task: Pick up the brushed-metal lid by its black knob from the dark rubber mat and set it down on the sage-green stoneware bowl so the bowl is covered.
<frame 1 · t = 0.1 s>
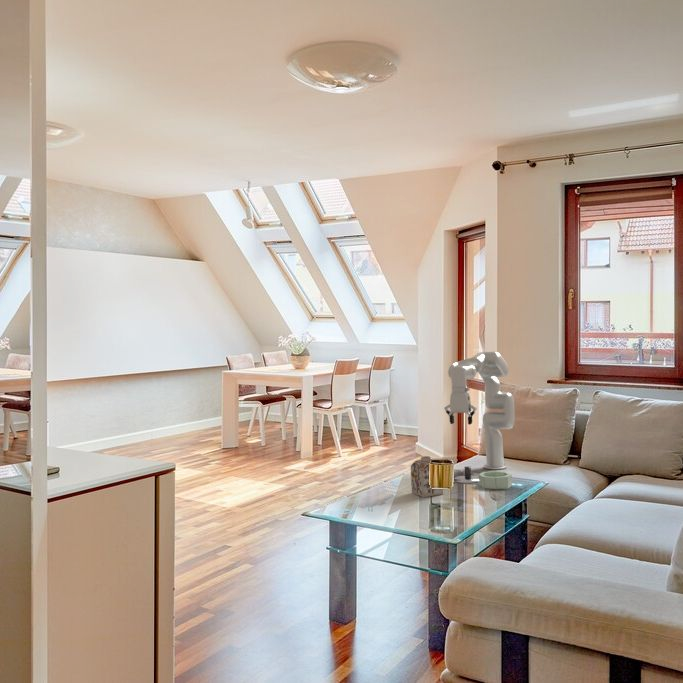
hand: (461, 423, 345), 31 cm above the table, fingers open, 9 cm apart
bowl: (495, 486, 338), on the table
mat: (468, 481, 352), on the table
decorative jar: (427, 494, 330), on the table
lid: (468, 480, 352), point 1 cm above the table, touching mat
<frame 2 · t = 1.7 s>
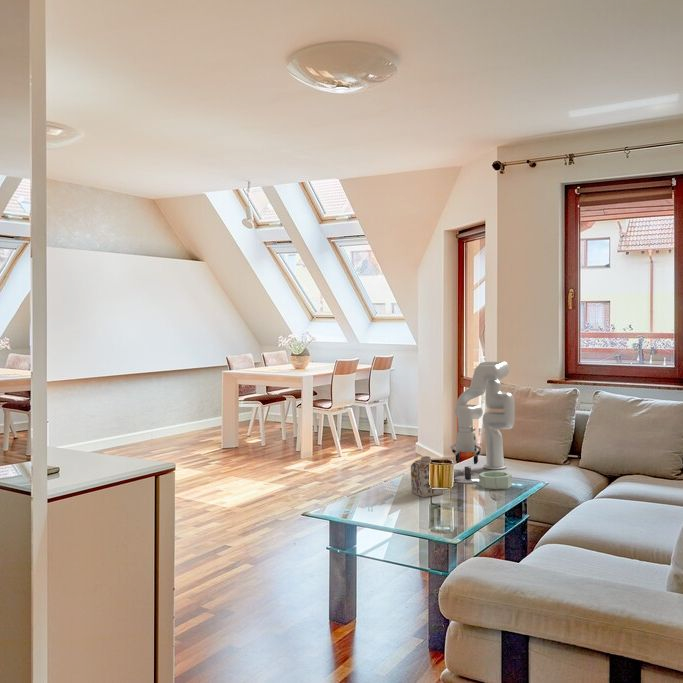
hand: (466, 463, 352), 10 cm above the table, fingers open, 9 cm apart
nothing on the table moved.
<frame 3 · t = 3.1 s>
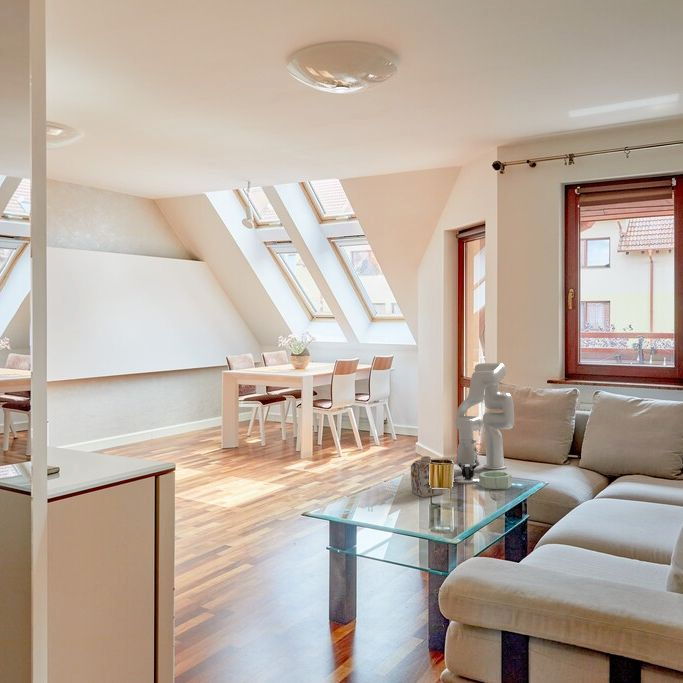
hand: (468, 476, 352), 2 cm above the table, fingers closed on lid, 3 cm apart
lid: (468, 480, 352), point 1 cm above the table, touching gripper, mat
everything else where it was.
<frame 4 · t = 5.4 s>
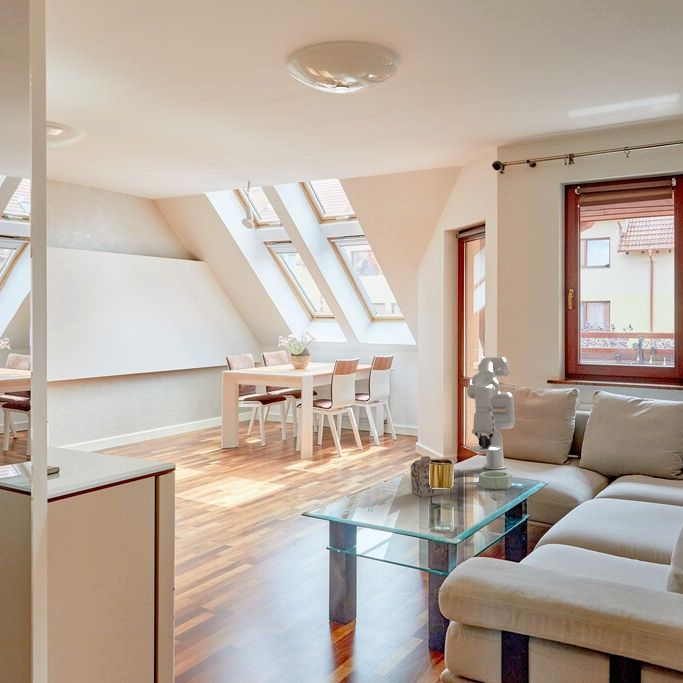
hand: (484, 446, 342), 20 cm above the table, fingers closed on lid, 3 cm apart
lid: (484, 449, 342), point 18 cm above the table, touching gripper
everything else where it was.
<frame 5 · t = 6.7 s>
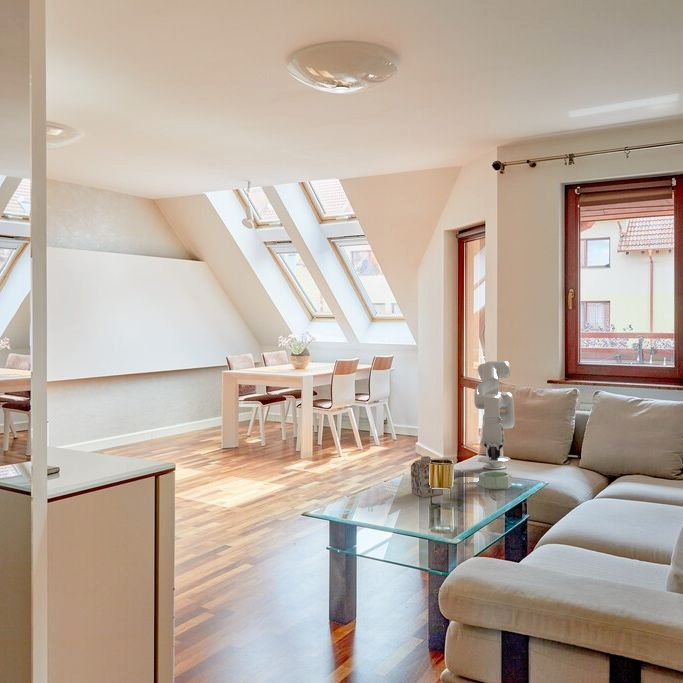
hand: (494, 457, 338), 15 cm above the table, fingers closed on lid, 3 cm apart
lid: (494, 460, 337), point 13 cm above the table, touching gripper
everything else where it was.
when the fingers open (9 cm above the table, at t = 7.9 s): lid drops 2 cm, resting on bowl.
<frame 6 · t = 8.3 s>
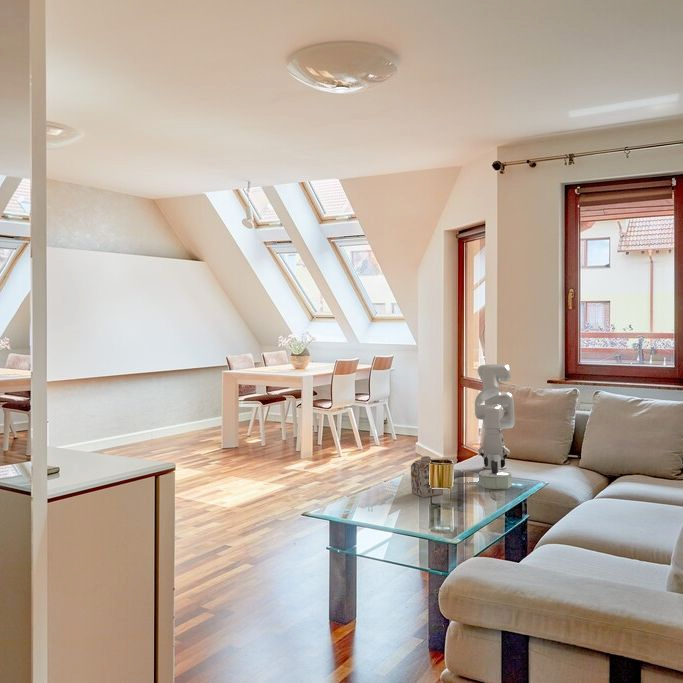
hand: (494, 466, 338), 10 cm above the table, fingers open, 7 cm apart
lid: (494, 474, 338), point 6 cm above the table, touching bowl
everything else where it was.
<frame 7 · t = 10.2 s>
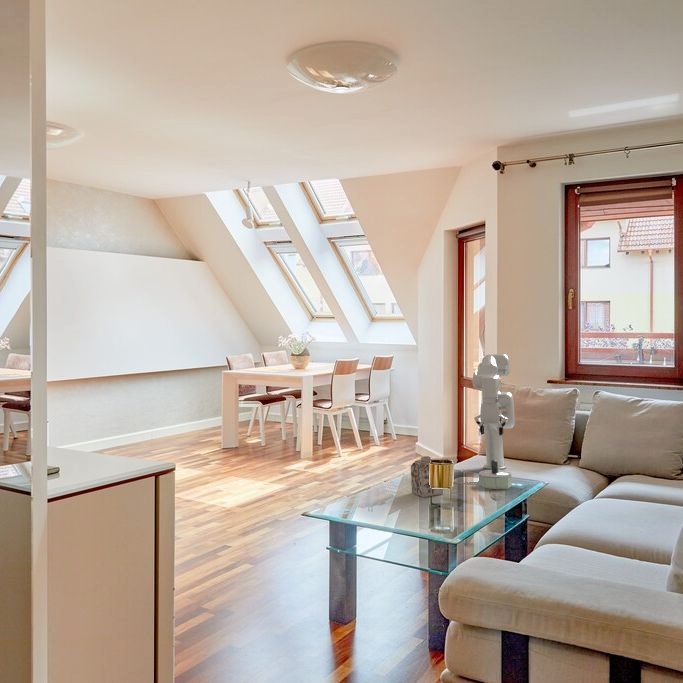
hand: (491, 434, 342), 25 cm above the table, fingers open, 9 cm apart
nothing on the table moved.
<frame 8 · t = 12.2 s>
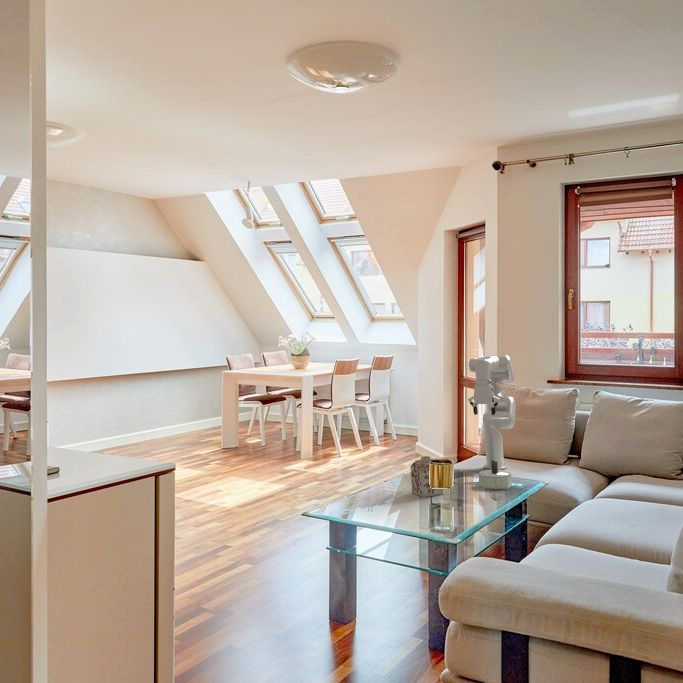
hand: (484, 414, 359), 33 cm above the table, fingers open, 9 cm apart
nothing on the table moved.
at the end: lid 0.0 cm off-centre on the bowl, point 6.0 cm above the bowl's base; lid tilted 0°; the gripper is holding nothing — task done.
